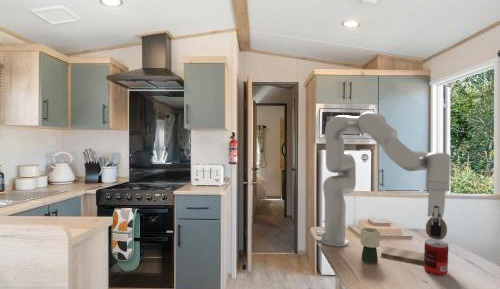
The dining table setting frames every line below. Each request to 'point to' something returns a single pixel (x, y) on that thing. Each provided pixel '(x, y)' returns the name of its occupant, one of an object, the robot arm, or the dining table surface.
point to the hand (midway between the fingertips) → (436, 233)
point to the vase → (443, 229)
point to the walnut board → (403, 255)
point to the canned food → (436, 257)
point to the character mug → (370, 244)
